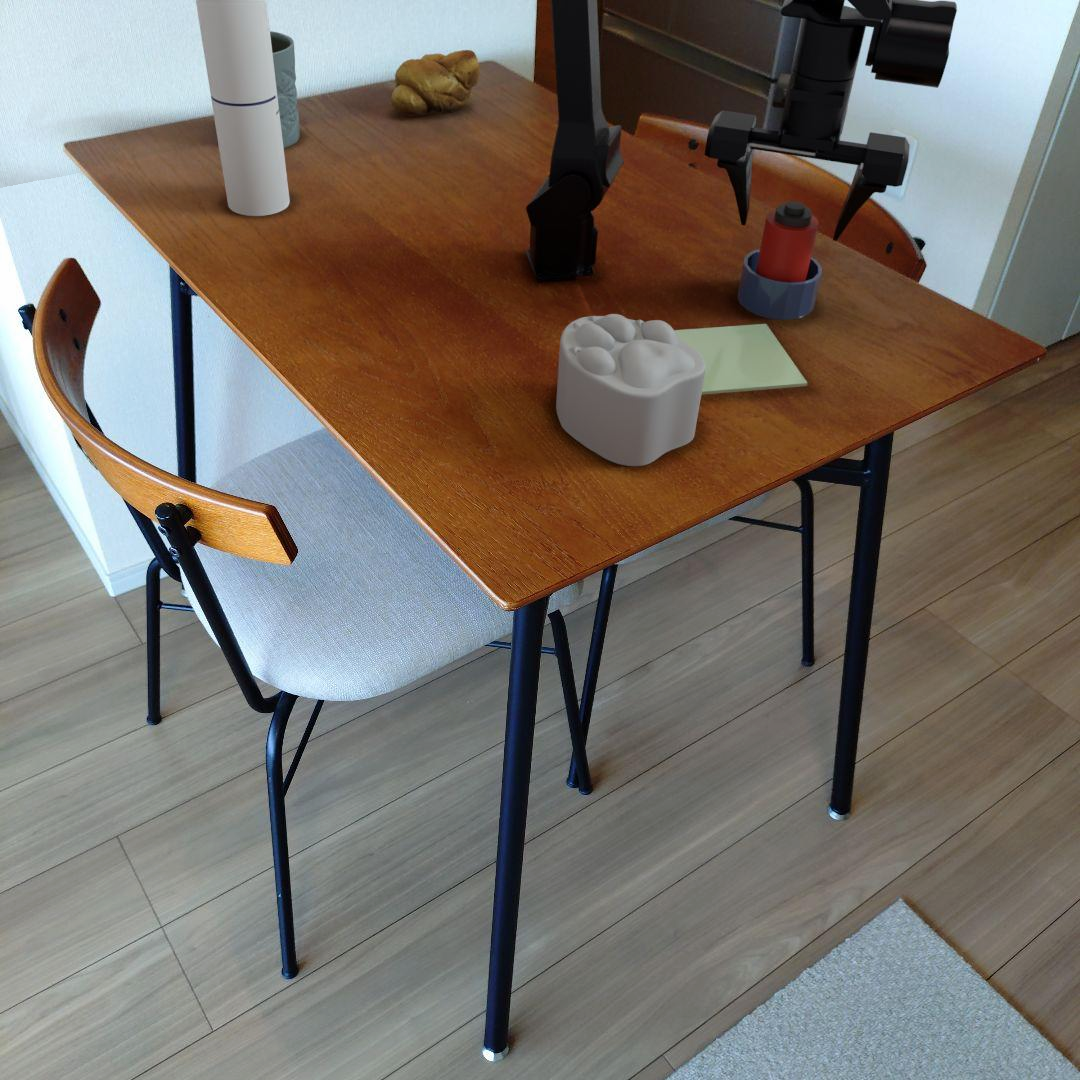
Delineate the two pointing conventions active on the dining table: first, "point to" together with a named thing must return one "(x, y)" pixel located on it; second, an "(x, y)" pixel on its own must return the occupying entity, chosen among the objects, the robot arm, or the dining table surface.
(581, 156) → the robot arm
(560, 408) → the lumpy-topped squat cylinder
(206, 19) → the cylindrical container
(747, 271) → the cup
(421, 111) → the bread roll
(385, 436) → the dining table surface
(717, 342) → the tile
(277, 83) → the embossed grey-green pot
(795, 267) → the bottle
